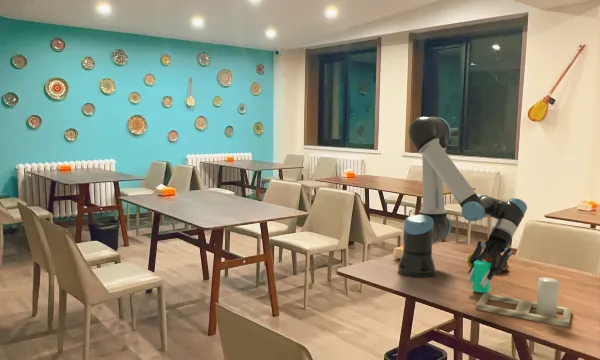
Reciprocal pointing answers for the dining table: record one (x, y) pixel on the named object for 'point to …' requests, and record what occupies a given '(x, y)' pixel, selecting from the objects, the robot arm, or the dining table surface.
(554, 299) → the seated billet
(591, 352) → the dining table surface
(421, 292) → the dining table surface
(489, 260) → the cup and saucer
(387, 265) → the dining table surface
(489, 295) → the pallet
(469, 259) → the lemon
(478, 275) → the candle
